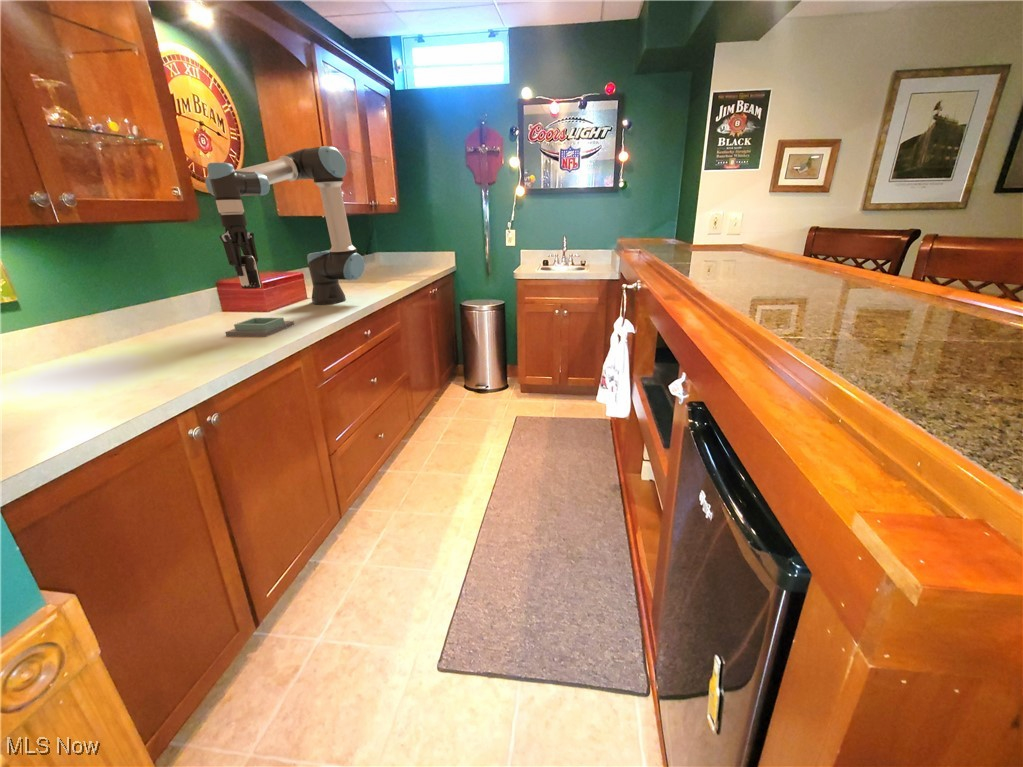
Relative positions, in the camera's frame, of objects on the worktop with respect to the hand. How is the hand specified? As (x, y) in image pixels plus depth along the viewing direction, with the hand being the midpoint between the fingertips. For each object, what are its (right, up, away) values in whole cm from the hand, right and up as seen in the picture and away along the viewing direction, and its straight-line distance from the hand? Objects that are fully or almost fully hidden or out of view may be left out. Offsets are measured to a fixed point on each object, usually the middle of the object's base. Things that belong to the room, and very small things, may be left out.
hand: (249, 284), depth 156 cm
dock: (+1, -16, +6) cm, 17 cm away
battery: (0, -2, +1) cm, 2 cm away
